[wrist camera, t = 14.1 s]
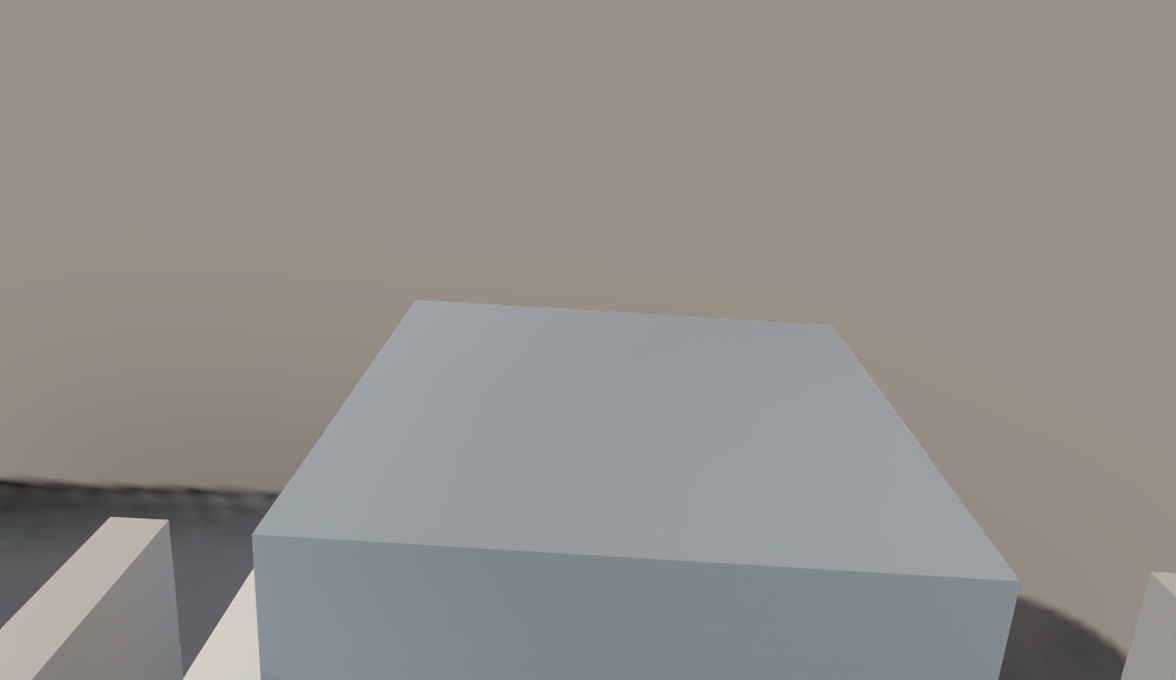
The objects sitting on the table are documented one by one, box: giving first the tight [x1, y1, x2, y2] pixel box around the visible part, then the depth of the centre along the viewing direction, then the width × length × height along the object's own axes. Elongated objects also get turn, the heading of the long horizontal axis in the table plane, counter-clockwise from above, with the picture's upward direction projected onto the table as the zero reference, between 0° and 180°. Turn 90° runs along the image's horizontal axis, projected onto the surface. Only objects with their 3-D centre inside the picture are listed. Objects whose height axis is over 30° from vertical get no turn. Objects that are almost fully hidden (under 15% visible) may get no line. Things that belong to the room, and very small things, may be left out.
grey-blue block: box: [252, 300, 1021, 680], centre depth 18 cm, size 10×9×10 cm
